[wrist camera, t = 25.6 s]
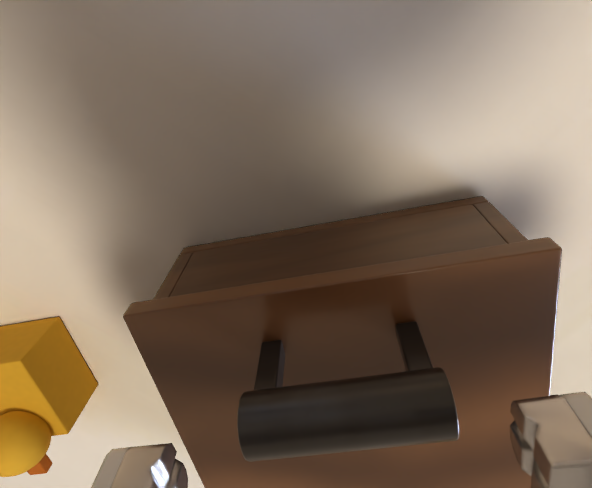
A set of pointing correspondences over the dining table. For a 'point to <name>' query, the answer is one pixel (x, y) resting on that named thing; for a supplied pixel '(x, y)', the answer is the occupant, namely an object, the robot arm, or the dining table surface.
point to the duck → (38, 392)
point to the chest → (339, 246)
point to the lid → (359, 371)
